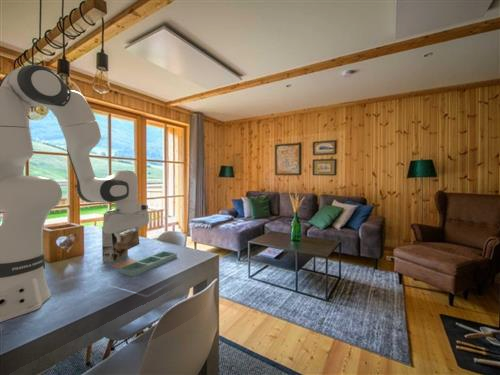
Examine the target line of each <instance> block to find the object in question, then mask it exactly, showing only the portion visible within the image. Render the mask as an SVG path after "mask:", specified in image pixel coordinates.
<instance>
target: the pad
mask: <svg viewBox="0 0 500 375" xmlns="http://www.w3.org/2000/svg"><path fill="white" fill-rule="evenodd" d="M137 261H139V260H137V259H133V258H132V259H131V258H129V259H125V260H123V261H120V262H117V263H115V264H112V265H111V267H113V268H117V269H119V268H121V267H124V266H126V265H129V264H131V263H134V262H137Z"/></svg>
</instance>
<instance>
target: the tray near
mask: <svg viewBox="0 0 500 375" xmlns="http://www.w3.org/2000/svg"><path fill="white" fill-rule="evenodd" d="M149 270H151V269H150V265H149V264H144V263H140V262H134V263H131V264H129V265H126V266H124V267H121V268H118V273H119V274H121V275H125V276H128V277H133V278H134V277H137V276H138V275H141V274H143V273H145V272H148V271H149Z"/></svg>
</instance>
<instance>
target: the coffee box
mask: <svg viewBox="0 0 500 375" xmlns="http://www.w3.org/2000/svg"><path fill="white" fill-rule="evenodd" d="M124 231H126V230H124ZM124 231H120V233H121V232H124ZM101 237H102V238H101V239H102V240H101V242H102V244H101V245H102V247H101V248H102V256H101V257H102V263H109V262H110V263H115V262H118V261H119V260H121V259H123V258H126V257H128V255H129V253H128V252H129V250H127V249H122V248H118V243H117V238H116V236H115V235H114V233H112V234H106V233H104V232H103V226H102V227H101Z"/></svg>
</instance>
